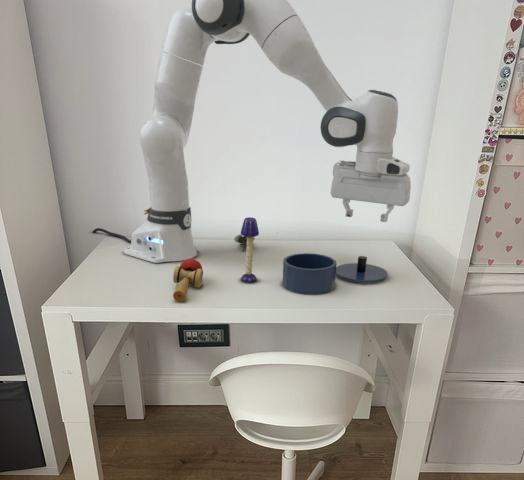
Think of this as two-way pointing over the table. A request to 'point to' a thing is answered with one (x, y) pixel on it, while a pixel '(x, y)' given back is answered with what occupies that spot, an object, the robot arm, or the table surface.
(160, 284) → the table surface
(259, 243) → the table surface
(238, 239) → the eagle figurine
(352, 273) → the lid
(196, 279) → the kendama
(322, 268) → the pot
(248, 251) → the toy lamp
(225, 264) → the table surface
